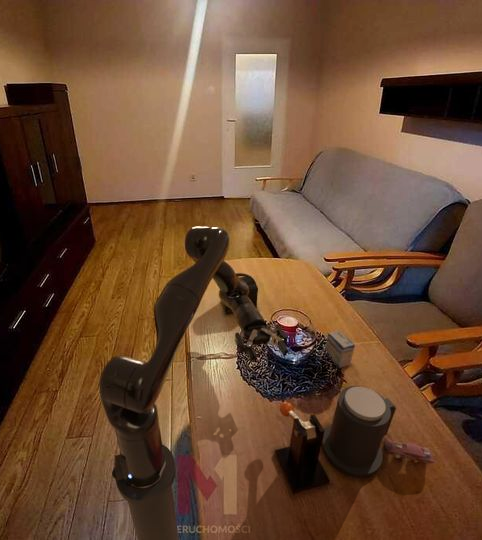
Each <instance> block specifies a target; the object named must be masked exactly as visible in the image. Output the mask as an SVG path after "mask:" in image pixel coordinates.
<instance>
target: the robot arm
mask: <svg viewBox="0 0 482 540" xmlns="http://www.w3.org/2000/svg"><path fill="white" fill-rule="evenodd" d="M229 248H230V235H229V233H228V231H227V230H225V229H224V228H221V227H212V226H194V227H191V228H190V229H189V230H188V231H186V234H185V238H184V249H185V253H186V254H187V256H188V257H189V258H190V259H191V260H192V261H193V262H194V263H193V264H192V265H191V266H189V267H187V268H186V269H183V270H182V271H181V272H179V273H178V274H176V275H175V276H173V277H172V278H171V279H170V280H168V281H167V283H166V284H165V286H164V287H163V289H162V291H161V292H160V294H159V295H158V298H157V299H156V301H155V303H154V306H153V319H154V327H155V333H156V343H155V347H154V350H153V352H152V355H151V357H150V358H149V360H148V361H145V360H141V359H137V358H134V357H130V356H127V355H123V354H122V355H121V354H120V355H115V356H113V357H112V358H111V359H109V361H107V362H106V364H105V365H104V367H103V369H102V372H101V374H100V377H99V378H100V379H99V396H100V400H101V404H102V406H103V409H104V413H105V415H106V418H107V421H108V423H109V424H110V426H111V427H112V428H113V429H114V432H115V437H116V440H117V444H118V449H119V454H117V455H114V467H113V469H112V471H111V476H112V477H113V479H116V480H117V481H120V480H122V479H125V483H126V486H127V487H128V486H132V487H134V488H137V489H148V488H151V487H153V486H154V485H156V484H157V483H158V482H159V481H160V480H161V479H162V477H163V475H164V473H165V468H166V461H165V459H164V453H163V446H162V444H163V440H162V433H161V425H160V419H159V411H158V407H157V405H156V402H157V400H158V399H159V397H160V394H161V392H162V389H163V387H164V384H165V382H166V380H167V377H168V374H169V371H170V369H171V367H172V363H173V361H174V359H175V356H176V354H177V351H178V349H179V347H180V345H181V343H182V341H183V339H184V336H185V334H186V332H187V330H188V328H189V326H190V324H191V323H192V321H193V319H194V317H195V315H196V313H197V311H198V309H199V306H200V304H201V302H202V299H203V297H204V295H205V294H206V291H207V289H208V287H209V285H210V283H211V281H212V280H213V281H214V283H215V284H216V286H217V287H218V289H219V291H218V298H219V300H220V302H221V301H222V302H223V303H224V304H225V305H226V306H227V307H229V308H230V309H231V310H232V312H233V315H234V317H235V320H236V323H237V326H238V327H239V328H240V331H241V332H242V333H241V334H240V332H235V334H234V342H235V344H236V347H237V350H238V352H239V353H240V354H243V353H246V354H247V355H248V357H249V359H250V360H251V361H252V362H254V363H255V362H257V361H258V355H257V353H256V351H255V349H254V347H255V346H261V345H267V344H269V345H270V346H275V347H278V350H279V352H280V353H281V354H282V356H283V357H286V356H288V355H287V354H288V351H289V348H288V346H287V345H288V340H289V336H288V335H287V334H286V331H284V330H283V329H282V327H281V326H280V325H276V326H275V327H274V328H270V327H269V326H268V324H267V322H266V321H265V319H264V317H263V316H262V314H261V313H260V310H259V309H258V307H257V308H256V307H255V306H254V305H253V303H252V301H251V300H250V298H249V297H247V296H248V294H249V287H248V285H247V284H246V282H245V281H243V280H242V279H241V278H239V277H240V276H239V277H237V275H236V272H235V270H234V269H233V267H232V266H231V264H229V263H228V262H227V261H225V259H226V256H227V255H228V251H229ZM243 340H245V341H247V343H246V344H244V342H243ZM116 480H115V481H116Z"/></svg>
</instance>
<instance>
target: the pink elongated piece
mask: <svg viewBox="0 0 482 540" xmlns="http://www.w3.org/2000/svg"><path fill="white" fill-rule="evenodd" d="M384 446H385V449H386V450H387V451H388V454H390V455H393V456H394V458H396V459H407V456H409V460H410V461H412V462H413V463H426V464H434V463H435V458H434V457H435V456H434V453H433V451H431V450H430V449H429V448H428V447H427V446H419V445H418V444H415V443H413V442H400V441H393V440H391V438H389V437H387V438H386V439H385V441H384Z"/></svg>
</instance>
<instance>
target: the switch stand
mask: <svg viewBox="0 0 482 540" xmlns="http://www.w3.org/2000/svg"><path fill="white" fill-rule="evenodd" d="M308 421H309V422H310V423H312V424H313V425H314V426H315V430H316V438H312V439H308V440H307V436H308V435H307V433H306V432H305V430H304V428H303V426H302V424H301V422H300V421H299V419H298V418H296V419H294V420H293V423H292V429H291V436H290V441H289V446H287V447H282V448H278V449H275V451H274V454H275V457H276V458H277V461H278V463H279V465H280V467H281V470H282V472H283V475H284V477H285V479H286V481H287V484H288V486H289V488H290V491H291V493H292V495H295V494H298V493H301V492H305V491H309V490H312V489H315V488H318V487H322V486H326V485H329V484H330V482H331V481H330V479H329V476H328V475H327V473H326V470H325V469H324V467H323V466H322V464H321V462H320V459H319V458H320V453H321V450H322V441H323V436H324V432H325V431H324V430H325V429H324V427H323V425H322V424H321V422H320V421H319V419H318V418H317V415H315V413H314V414H310V416H309V420H308Z"/></svg>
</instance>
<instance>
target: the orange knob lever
mask: <svg viewBox="0 0 482 540" xmlns="http://www.w3.org/2000/svg"><path fill="white" fill-rule="evenodd" d="M279 412H280V413H281V415H282V416H284V417H289V418H290V419H292V421H294V419H296V418H298V419H299V421H300V422H301V424H302V426H303V428H304V430H305V432H306V433H307V435H308V436H307V440H308V439H312V438H316V430H315V426H314V425H313V424H312V423H310V422H309V421H310V420H308V421H304V420H303V419H302V418H301V417H300V416H299V415H298V414H297V413H296V412H295V409H294V405H293V404H292V403H291V402H289V401H283V402H281V404H280V405H279Z"/></svg>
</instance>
